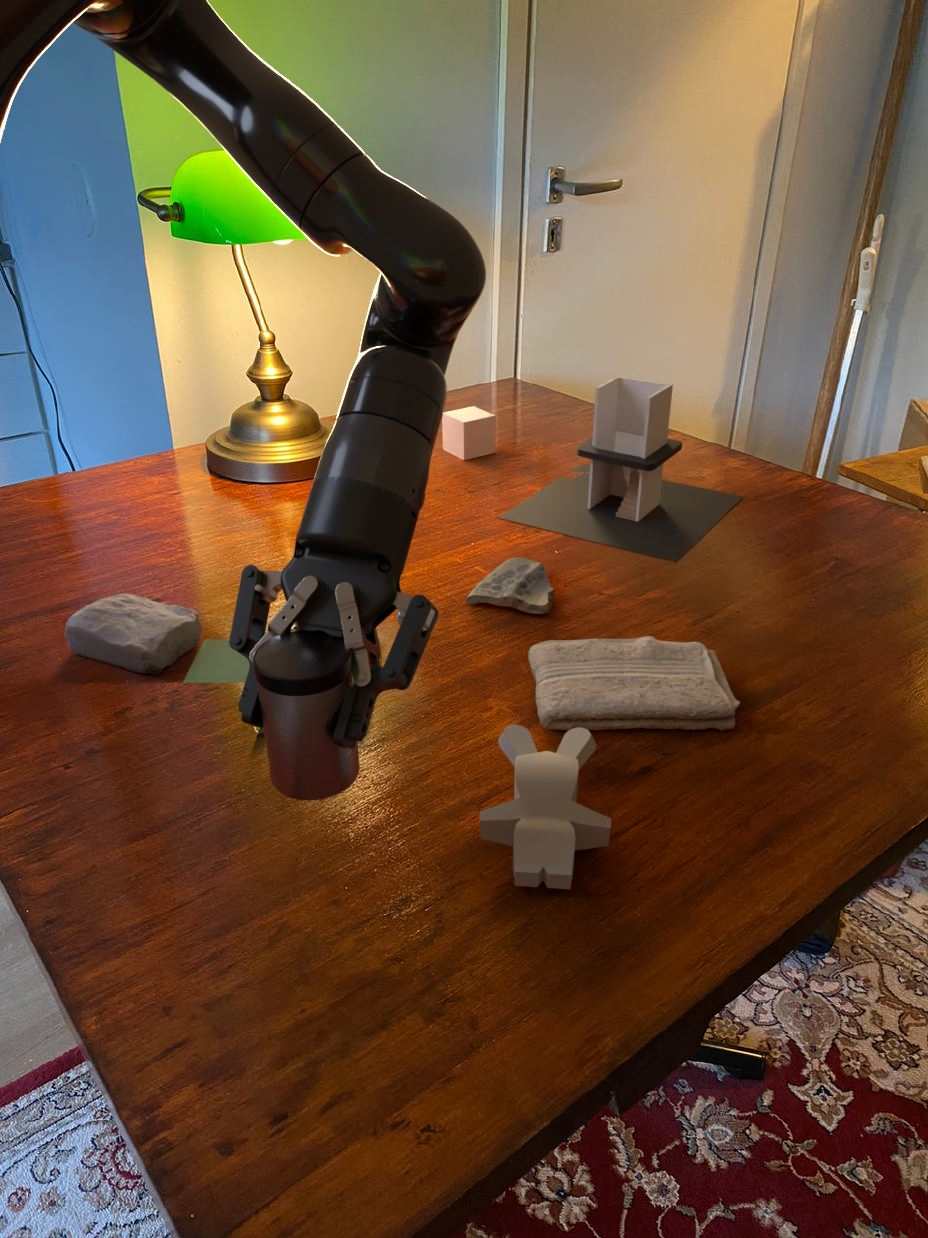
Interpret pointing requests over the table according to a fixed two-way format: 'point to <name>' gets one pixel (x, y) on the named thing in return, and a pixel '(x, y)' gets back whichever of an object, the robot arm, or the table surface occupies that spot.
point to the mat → (219, 666)
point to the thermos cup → (305, 713)
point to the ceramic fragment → (516, 587)
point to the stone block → (133, 632)
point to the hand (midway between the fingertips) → (297, 734)
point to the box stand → (627, 480)
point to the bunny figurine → (545, 809)
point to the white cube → (468, 432)
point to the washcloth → (630, 685)
